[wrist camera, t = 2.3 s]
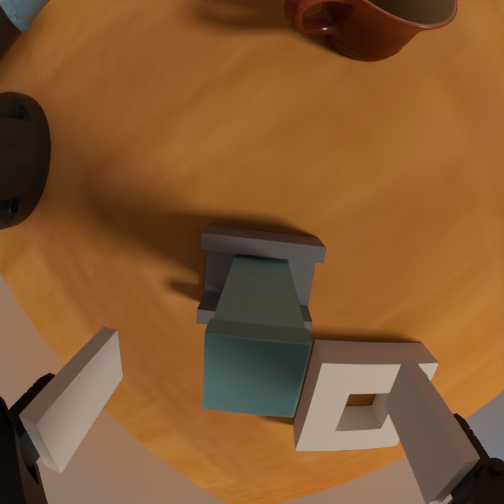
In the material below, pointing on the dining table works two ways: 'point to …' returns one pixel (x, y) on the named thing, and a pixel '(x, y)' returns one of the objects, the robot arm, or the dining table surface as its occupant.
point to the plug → (256, 341)
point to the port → (352, 382)
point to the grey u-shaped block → (258, 244)
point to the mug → (370, 23)
